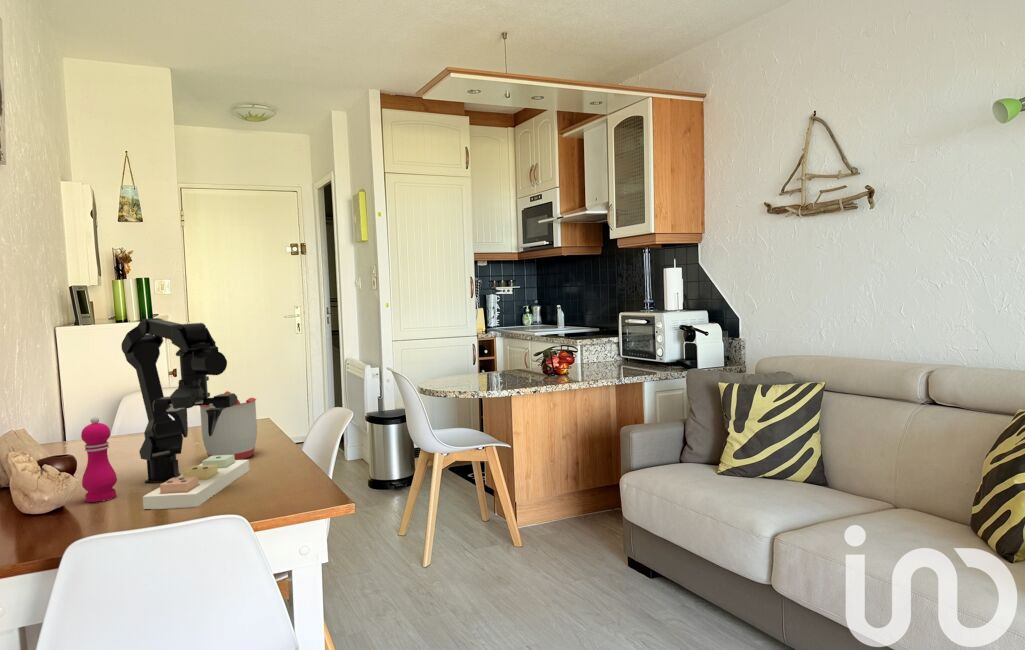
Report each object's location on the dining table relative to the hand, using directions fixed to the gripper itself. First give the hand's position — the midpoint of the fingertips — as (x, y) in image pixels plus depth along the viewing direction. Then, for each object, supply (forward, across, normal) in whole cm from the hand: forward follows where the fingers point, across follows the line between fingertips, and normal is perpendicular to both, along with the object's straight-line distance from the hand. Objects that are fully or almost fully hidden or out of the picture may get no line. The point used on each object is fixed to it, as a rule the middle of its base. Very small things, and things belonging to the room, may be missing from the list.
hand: (198, 436), depth 171 cm
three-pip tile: (+10, 0, -11) cm, 15 cm away
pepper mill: (+13, -22, -5) cm, 26 cm away
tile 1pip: (+10, 0, +11) cm, 15 cm away
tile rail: (+13, 0, 0) cm, 13 cm away
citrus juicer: (+13, -5, +33) cm, 36 cm away
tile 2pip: (+10, 0, 0) cm, 10 cm away
